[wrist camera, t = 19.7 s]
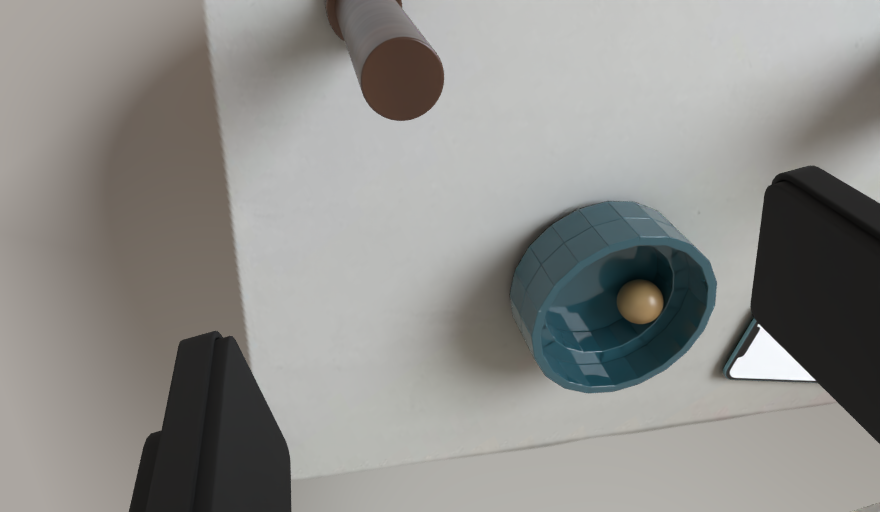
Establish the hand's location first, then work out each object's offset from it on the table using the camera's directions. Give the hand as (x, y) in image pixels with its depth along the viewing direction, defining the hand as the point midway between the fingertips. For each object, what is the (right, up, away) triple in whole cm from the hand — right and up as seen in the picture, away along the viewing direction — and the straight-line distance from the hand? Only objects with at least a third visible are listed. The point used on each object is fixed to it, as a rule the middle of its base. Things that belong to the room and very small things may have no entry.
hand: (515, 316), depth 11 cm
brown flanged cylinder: (-5, +13, +20) cm, 24 cm away
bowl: (+9, 0, +32) cm, 33 cm away
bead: (+12, -2, +31) cm, 34 cm away
